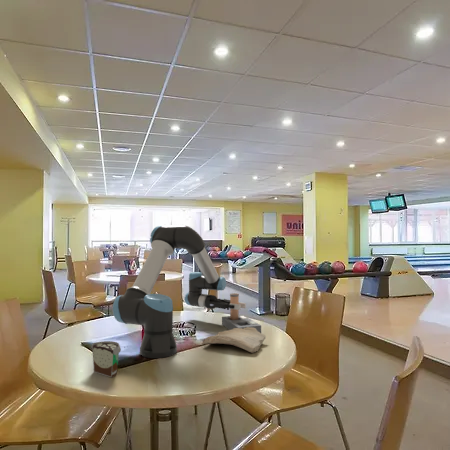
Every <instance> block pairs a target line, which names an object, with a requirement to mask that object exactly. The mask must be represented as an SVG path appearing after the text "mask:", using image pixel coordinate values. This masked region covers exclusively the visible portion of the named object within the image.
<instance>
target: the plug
mask: <svg viewBox="0 0 450 450" xmlns="http://www.w3.org/2000/svg"><path fill="white" fill-rule="evenodd" d="M229 296H230V297H229V300H230V303H232V304H239V302H240V300H239V299H240V298H239V297H240V293H238V292H237V293H235V292H234V293H233V292H232V293H229ZM229 310H230V312H229V313H230V320H239V313H240V312H239V311H240V310H235V309H230V308H229Z"/></svg>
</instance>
